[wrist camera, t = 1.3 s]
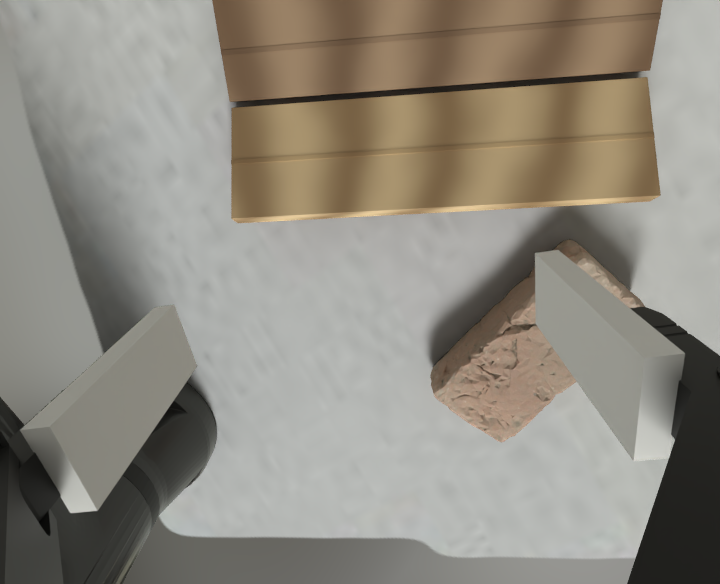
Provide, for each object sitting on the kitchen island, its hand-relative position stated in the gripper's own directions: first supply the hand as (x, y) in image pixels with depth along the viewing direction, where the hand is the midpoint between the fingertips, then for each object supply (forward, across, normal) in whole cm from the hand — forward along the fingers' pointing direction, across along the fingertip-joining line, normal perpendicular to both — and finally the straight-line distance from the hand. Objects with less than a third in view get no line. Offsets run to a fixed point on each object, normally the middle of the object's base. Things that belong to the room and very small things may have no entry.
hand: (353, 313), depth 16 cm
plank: (+18, +5, +3) cm, 18 cm away
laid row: (+19, +6, +10) cm, 23 cm away
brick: (+20, +12, -14) cm, 27 cm away
